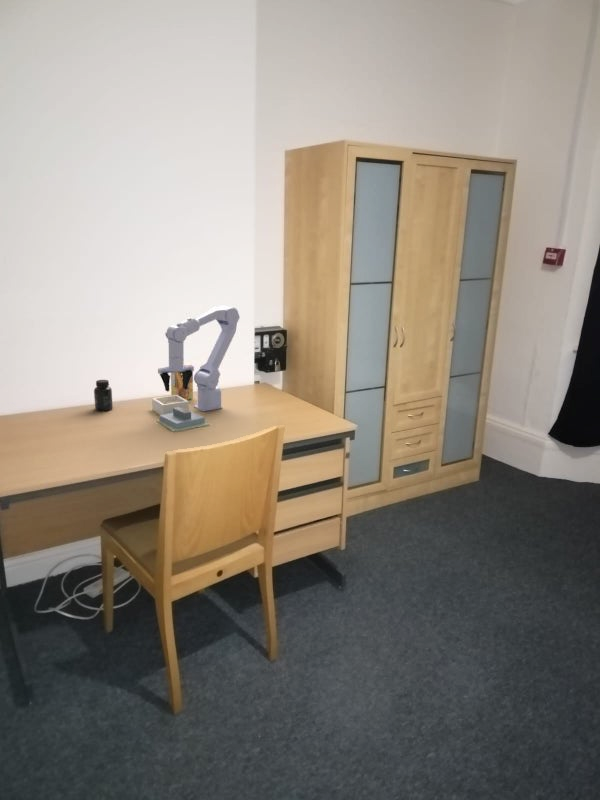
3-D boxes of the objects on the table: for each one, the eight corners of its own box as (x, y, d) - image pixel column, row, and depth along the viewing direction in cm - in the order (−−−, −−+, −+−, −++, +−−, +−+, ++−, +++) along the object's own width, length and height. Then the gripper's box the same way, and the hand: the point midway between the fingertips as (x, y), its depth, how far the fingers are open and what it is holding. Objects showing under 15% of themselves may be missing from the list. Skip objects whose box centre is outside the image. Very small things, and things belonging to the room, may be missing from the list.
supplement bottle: (92, 408, 234) (90, 380, 230) (108, 405, 238) (107, 378, 235) (99, 412, 229) (97, 384, 226) (115, 410, 233) (113, 381, 230)
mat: (191, 414, 231) (191, 413, 231) (209, 425, 219) (209, 424, 219) (156, 420, 222) (156, 419, 222) (173, 431, 211) (173, 430, 211)
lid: (186, 414, 230) (186, 403, 228) (204, 422, 221) (204, 410, 220) (159, 420, 221) (159, 408, 220) (177, 429, 213) (176, 417, 211)
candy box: (188, 396, 256) (188, 363, 252) (193, 398, 253) (193, 365, 249) (171, 399, 251) (170, 365, 246) (175, 401, 248) (174, 367, 243)
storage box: (177, 406, 242) (176, 394, 240) (188, 412, 233) (188, 401, 232) (152, 409, 235) (152, 398, 234) (163, 417, 227) (163, 405, 225)
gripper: (188, 353, 231) (188, 385, 235) (154, 355, 223) (155, 389, 226) (196, 356, 226) (196, 389, 230) (162, 359, 217) (162, 393, 221)
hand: (176, 389), depth 228 cm, fingers open, 7 cm apart
